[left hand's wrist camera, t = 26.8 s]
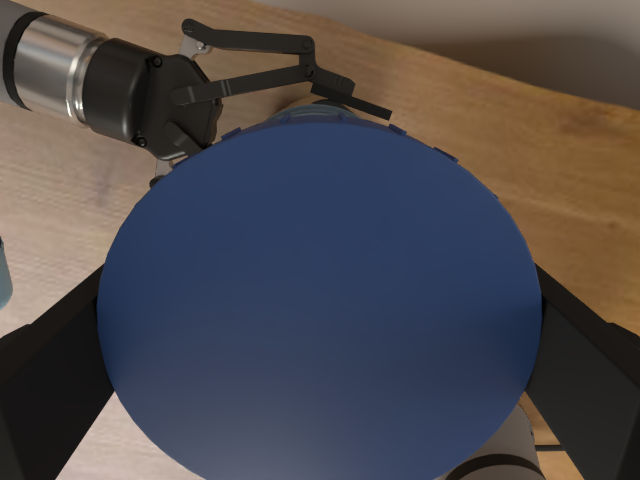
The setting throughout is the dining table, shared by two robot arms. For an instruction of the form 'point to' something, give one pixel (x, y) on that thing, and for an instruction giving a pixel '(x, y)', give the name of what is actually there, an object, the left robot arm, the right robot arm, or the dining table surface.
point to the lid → (319, 306)
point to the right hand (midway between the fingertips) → (365, 174)
